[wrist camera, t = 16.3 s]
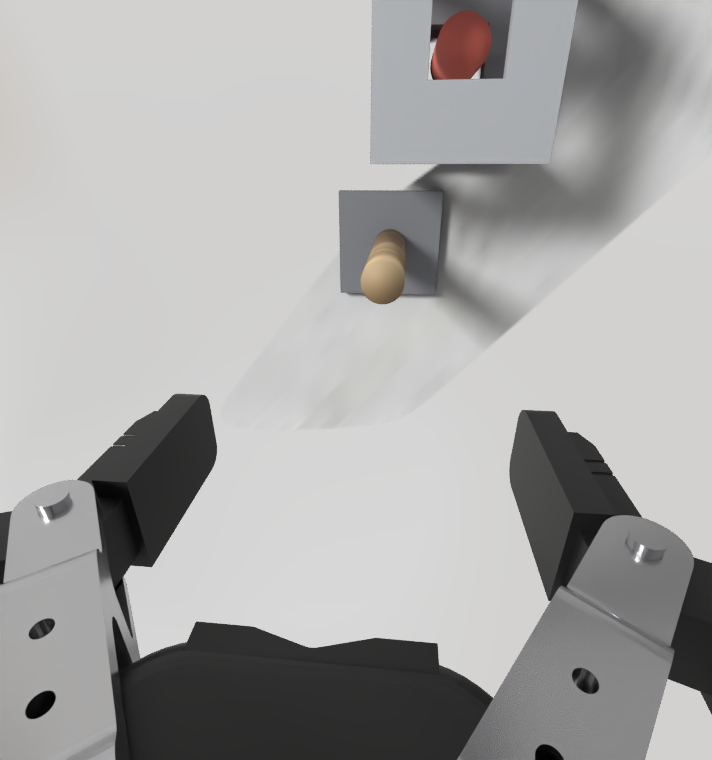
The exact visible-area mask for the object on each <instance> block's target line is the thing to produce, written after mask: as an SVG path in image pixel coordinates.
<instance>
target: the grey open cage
mask: <svg viewBox="0 0 712 760" xmlns="http://www.w3.org/2000/svg"><path fill="white" fill-rule="evenodd" d="M577 5H578V0H372V55H371V152H370V154H371V156H370V161H371V162H370V164H550V159H551V153H552V148H553V142H554V136H555V131H556V125H557V119H558V113H559V108H560V102H561V96H562V90H563V85H564V79H565V73H566V68H567V62H568V56H569V50H570V45H571V39H572V33H573V27H574V22H575V16H576V10H577ZM466 10H467V11H474V12H476V13H478V14H480V15H481V16H482V17H483V18H484V19H485V20H486V22H487V23H488V25H489V28H490V32H491V47H490V51H489V54H488V57H487V58H486V60H485V62H484V63H483V65H482V67H481V77H480V79H453V80H428V67H429V51H430V34H431V30H441V28H442V27H443V25H444V24H445V22H446V21H447V20H448V19H449V18H450V17H451V16H453V15H454V14H456V13H458V12H461V11H466Z"/></svg>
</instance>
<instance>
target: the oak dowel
mask: <svg viewBox="0 0 712 760" xmlns="http://www.w3.org/2000/svg"><path fill="white" fill-rule="evenodd" d="M404 284H405V239H404V237H403V236H402V234H401V233H400V232H398V231H396V230H394V229H387V230H384V231H382V232H381V233H379V234H378V236H377V237H376V239H375V242H374V245H373V247H372V250H371V252H370V255H369V258H368V260H367V263H366V265H365V268H364V271H363V273H362V276H361V289H362V291H363V293H364V295H365V296H366V297H367V298H368V299H369V300H370V301H372V302H374V303H378V304H388V303H391V302H393V301H395V300H396V299H397V298H398V297H399V296H400V295H401V293H402V292H403V289H404Z"/></svg>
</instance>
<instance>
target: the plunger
mask: <svg viewBox="0 0 712 760" xmlns="http://www.w3.org/2000/svg"><path fill="white" fill-rule="evenodd" d="M490 47H491V32H490V28H489V25H488V23H487V22H486V20H485V19H484V18H483V17H482V16H481V15H480V14H478V13H476V12H474V11H467V10H466V11H461V12H458V13H456V14H454V15H453V16H451V17H450V18H449V19H448V20H447V21H446V22H445V24H444V25H443V27H442V28H441V30H440V33H439V36H438V39H437V43H436V46H435V49H434V53H433V56H432V60H431V75H432V78H433V80H453V79H471V78H472V76H473V75H474V74H475V73H476V72H477V71H478V69H479V68H480V67H481V66H482V65H483V63H484V62H485V60H486V58H487V57H488V54H489V51H490Z"/></svg>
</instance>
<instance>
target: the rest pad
mask: <svg viewBox="0 0 712 760" xmlns="http://www.w3.org/2000/svg"><path fill="white" fill-rule="evenodd" d="M442 202H443V191H348V190H347V191H345V190H344V191H341V190H340V191H339V225H340V278H341V293H363V291H362V289H361V276H362V273H363V271H364V268H365V265H366V263H367V260H368V258H369V255H370V252H371V250H372V247H373V245H374V242H375V239H376V237H377V236H378V234H379V233H381V232H382V231H384V230H387V229H394V230H396V231H398V232H400V233H401V234H402V236H403V237H404V239H405V284H404V289H403V292H402V293H401V294H427V295H435V290H436V278H437V265H438V253H439V240H440V227H441V215H442Z"/></svg>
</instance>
